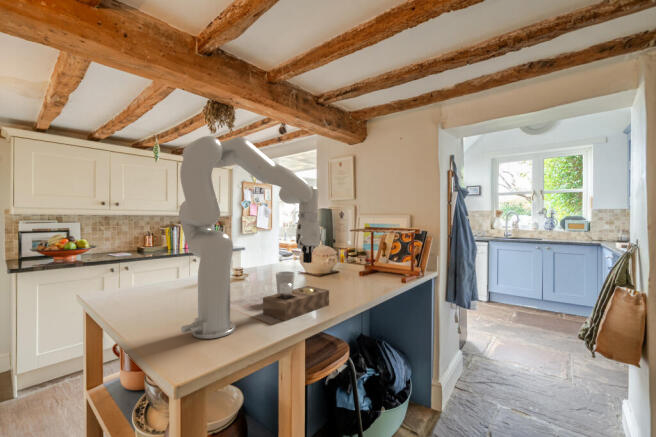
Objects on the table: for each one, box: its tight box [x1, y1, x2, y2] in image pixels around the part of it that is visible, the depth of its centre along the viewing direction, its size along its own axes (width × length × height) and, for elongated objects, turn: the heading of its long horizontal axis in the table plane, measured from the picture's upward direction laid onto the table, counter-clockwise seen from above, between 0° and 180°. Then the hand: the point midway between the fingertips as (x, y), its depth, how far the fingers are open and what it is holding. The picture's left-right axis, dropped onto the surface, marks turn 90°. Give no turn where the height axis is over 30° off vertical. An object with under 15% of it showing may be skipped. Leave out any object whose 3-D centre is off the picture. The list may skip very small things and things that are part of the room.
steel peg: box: [280, 282, 292, 300], centre depth 109 cm, size 4×4×6 cm
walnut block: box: [262, 285, 330, 322], centre depth 114 cm, size 24×12×6 cm, turn 141°
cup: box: [275, 270, 296, 294], centre depth 124 cm, size 8×8×12 cm
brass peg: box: [303, 288, 314, 294], centre depth 118 cm, size 4×4×6 cm
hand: (307, 262), depth 118 cm, fingers closed
